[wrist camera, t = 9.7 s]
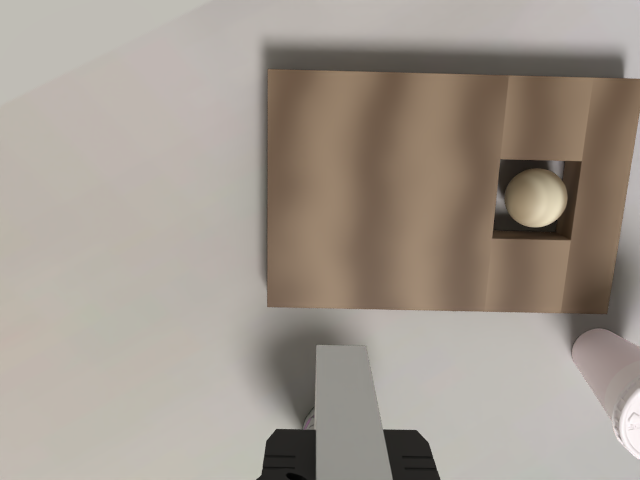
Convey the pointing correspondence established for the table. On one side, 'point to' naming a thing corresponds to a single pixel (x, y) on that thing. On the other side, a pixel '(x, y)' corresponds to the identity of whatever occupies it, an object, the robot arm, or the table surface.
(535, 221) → the ball
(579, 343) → the smoothie
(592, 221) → the brown wooden flat board
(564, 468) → the table surface
